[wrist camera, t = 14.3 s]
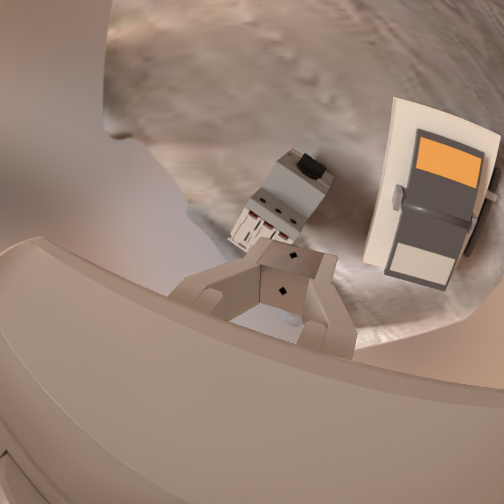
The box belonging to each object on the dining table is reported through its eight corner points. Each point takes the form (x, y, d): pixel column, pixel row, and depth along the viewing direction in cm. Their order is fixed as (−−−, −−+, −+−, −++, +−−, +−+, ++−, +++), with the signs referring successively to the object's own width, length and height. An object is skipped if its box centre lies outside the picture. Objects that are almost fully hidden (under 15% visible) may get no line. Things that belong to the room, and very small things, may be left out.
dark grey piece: (488, 151, 27) (492, 154, 26) (503, 158, 26) (507, 161, 25) (455, 251, 39) (456, 257, 38) (468, 255, 38) (470, 261, 37)
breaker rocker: (414, 128, 27) (416, 127, 26) (482, 152, 24) (486, 153, 23) (382, 269, 36) (383, 275, 34) (444, 287, 32) (446, 292, 31)
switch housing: (393, 96, 31) (399, 98, 24) (486, 128, 26) (511, 141, 19) (365, 242, 46) (360, 275, 39) (442, 264, 41) (449, 300, 34)
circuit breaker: (343, 161, 40) (328, 197, 29) (298, 221, 50) (270, 270, 39) (304, 135, 40) (272, 158, 29) (265, 198, 50) (226, 240, 39)
